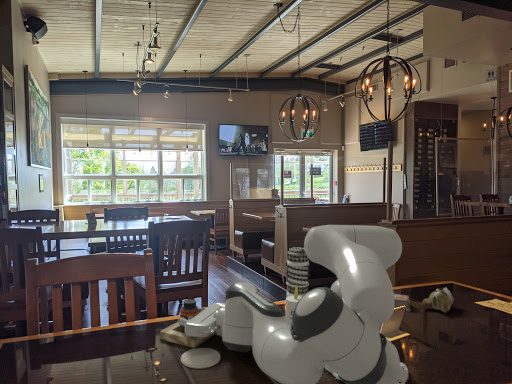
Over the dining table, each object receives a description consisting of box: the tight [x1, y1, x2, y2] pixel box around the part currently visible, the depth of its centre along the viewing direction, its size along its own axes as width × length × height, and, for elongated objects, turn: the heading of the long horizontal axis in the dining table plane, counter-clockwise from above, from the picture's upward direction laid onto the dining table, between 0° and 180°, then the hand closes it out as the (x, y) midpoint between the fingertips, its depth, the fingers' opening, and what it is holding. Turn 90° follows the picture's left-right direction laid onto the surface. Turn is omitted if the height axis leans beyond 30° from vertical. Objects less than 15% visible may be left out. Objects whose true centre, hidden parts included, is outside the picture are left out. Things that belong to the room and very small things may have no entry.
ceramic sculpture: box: [419, 286, 455, 313], centre depth 154 cm, size 11×9×15 cm
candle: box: [284, 285, 302, 327], centre depth 131 cm, size 6×6×15 cm
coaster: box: [180, 347, 221, 370], centre depth 110 cm, size 11×11×1 cm
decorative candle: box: [284, 246, 311, 312], centre depth 145 cm, size 9×9×25 cm
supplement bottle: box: [179, 298, 200, 333], centre depth 125 cm, size 6×6×11 cm
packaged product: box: [394, 293, 411, 312], centre depth 158 cm, size 18×5×10 cm
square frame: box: [159, 321, 217, 349], centre depth 125 cm, size 13×13×2 cm
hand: (187, 315), depth 125 cm, fingers open, 8 cm apart
